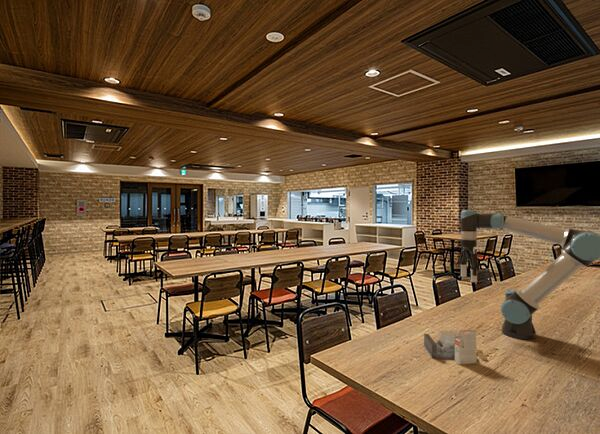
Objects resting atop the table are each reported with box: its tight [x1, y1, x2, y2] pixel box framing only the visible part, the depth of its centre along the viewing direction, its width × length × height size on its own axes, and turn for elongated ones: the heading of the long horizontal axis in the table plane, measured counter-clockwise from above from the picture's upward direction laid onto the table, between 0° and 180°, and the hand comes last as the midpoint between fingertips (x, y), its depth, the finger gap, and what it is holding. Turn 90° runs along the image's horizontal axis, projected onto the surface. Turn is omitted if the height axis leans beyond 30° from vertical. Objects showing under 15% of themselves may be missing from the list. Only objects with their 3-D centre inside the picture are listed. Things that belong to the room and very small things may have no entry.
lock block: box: [437, 330, 460, 351], centre depth 153 cm, size 9×6×7 cm
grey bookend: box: [423, 333, 455, 360], centre depth 153 cm, size 18×13×6 cm
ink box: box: [454, 329, 477, 365], centre depth 143 cm, size 4×8×15 cm, turn 96°
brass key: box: [476, 349, 488, 362], centre depth 149 cm, size 8×4×1 cm, turn 174°
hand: (468, 279), depth 176 cm, fingers open, 13 cm apart
